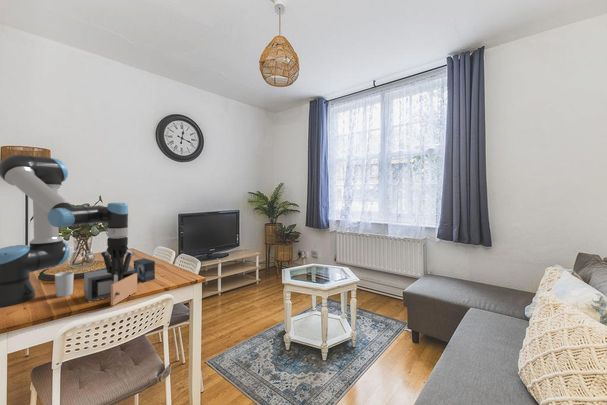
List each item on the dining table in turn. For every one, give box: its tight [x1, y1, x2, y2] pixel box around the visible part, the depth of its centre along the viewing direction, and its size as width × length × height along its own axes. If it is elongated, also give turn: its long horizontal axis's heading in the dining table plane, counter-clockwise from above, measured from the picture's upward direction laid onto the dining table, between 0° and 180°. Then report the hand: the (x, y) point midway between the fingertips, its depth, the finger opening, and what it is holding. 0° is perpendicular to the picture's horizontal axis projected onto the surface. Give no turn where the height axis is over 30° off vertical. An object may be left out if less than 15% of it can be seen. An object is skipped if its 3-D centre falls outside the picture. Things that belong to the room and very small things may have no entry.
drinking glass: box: [54, 270, 75, 298], centre depth 121 cm, size 7×7×10 cm
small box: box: [133, 257, 156, 283], centre depth 145 cm, size 11×6×10 cm, turn 62°
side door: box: [110, 273, 138, 306], centre depth 119 cm, size 16×2×9 cm, turn 0°
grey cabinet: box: [83, 265, 135, 303], centre depth 124 cm, size 18×10×11 cm, turn 138°
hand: (117, 288), depth 117 cm, fingers closed
